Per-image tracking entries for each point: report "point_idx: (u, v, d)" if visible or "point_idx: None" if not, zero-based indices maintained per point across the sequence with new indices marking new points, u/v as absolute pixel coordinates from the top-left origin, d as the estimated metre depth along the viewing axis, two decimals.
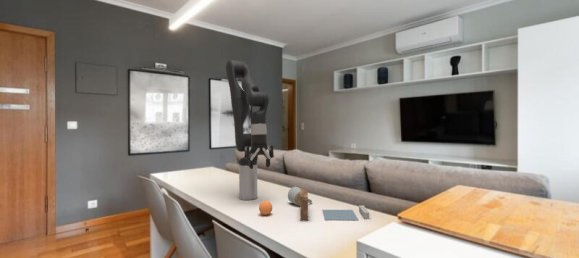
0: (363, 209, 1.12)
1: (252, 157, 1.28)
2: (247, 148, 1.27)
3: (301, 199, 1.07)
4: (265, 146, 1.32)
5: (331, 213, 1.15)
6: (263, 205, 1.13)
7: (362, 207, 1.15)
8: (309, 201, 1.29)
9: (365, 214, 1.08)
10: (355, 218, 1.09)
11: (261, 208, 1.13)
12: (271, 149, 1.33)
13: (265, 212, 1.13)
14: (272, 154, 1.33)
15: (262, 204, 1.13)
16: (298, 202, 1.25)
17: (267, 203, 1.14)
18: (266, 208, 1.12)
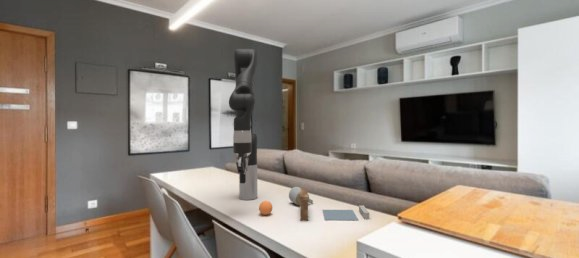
0: (363, 209, 1.12)
1: None
2: None
3: (301, 199, 1.07)
4: None
5: (331, 213, 1.15)
6: (263, 205, 1.13)
7: (362, 207, 1.15)
8: (310, 201, 1.29)
9: (365, 214, 1.08)
10: (355, 218, 1.09)
11: (261, 208, 1.13)
12: (237, 165, 1.11)
13: (265, 212, 1.13)
14: None
15: (262, 204, 1.13)
16: (299, 202, 1.26)
17: (267, 203, 1.14)
18: (266, 208, 1.12)
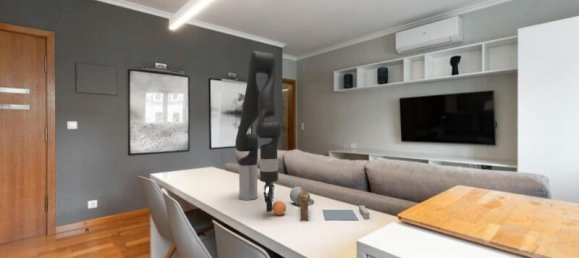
0: (363, 209, 1.12)
1: None
2: None
3: (301, 199, 1.07)
4: (265, 185, 1.11)
5: (331, 213, 1.15)
6: (282, 207, 1.13)
7: (362, 207, 1.15)
8: (311, 201, 1.29)
9: (365, 214, 1.08)
10: (355, 218, 1.09)
11: (279, 205, 1.13)
12: None
13: (275, 210, 1.12)
14: None
15: (283, 206, 1.13)
16: None
17: (284, 210, 1.13)
18: (280, 211, 1.12)
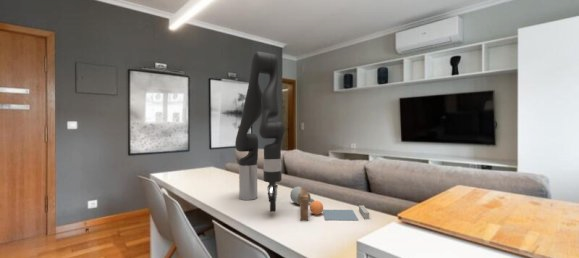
0: (363, 209, 1.12)
1: None
2: None
3: (301, 199, 1.07)
4: (269, 185, 1.12)
5: (331, 213, 1.15)
6: (318, 205, 1.13)
7: (362, 207, 1.15)
8: (312, 201, 1.29)
9: (365, 214, 1.08)
10: (355, 218, 1.09)
11: (315, 206, 1.12)
12: None
13: (315, 211, 1.12)
14: (269, 199, 1.12)
15: (318, 203, 1.13)
16: None
17: (321, 205, 1.13)
18: (318, 209, 1.12)
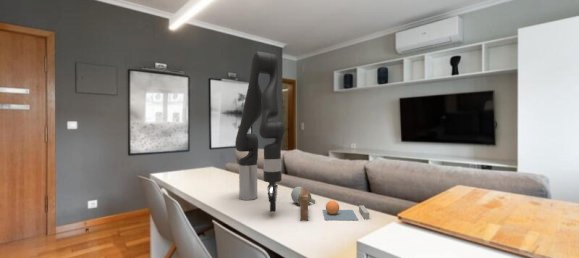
0: (363, 209, 1.12)
1: None
2: None
3: (301, 199, 1.07)
4: (269, 185, 1.12)
5: None
6: (334, 212, 1.13)
7: (362, 207, 1.15)
8: (312, 201, 1.30)
9: (365, 214, 1.08)
10: (355, 218, 1.09)
11: (336, 209, 1.12)
12: None
13: (333, 206, 1.12)
14: (269, 199, 1.12)
15: (335, 213, 1.13)
16: None
17: None
18: (331, 210, 1.12)
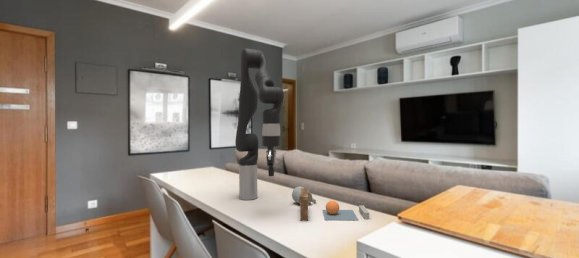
0: (363, 209, 1.12)
1: None
2: None
3: (301, 199, 1.07)
4: (267, 150, 1.12)
5: None
6: (334, 212, 1.13)
7: (362, 207, 1.15)
8: (313, 201, 1.30)
9: (365, 214, 1.08)
10: (355, 218, 1.09)
11: (336, 209, 1.12)
12: (267, 158, 1.11)
13: (333, 206, 1.12)
14: (267, 163, 1.12)
15: (335, 213, 1.13)
16: None
17: None
18: (331, 210, 1.12)
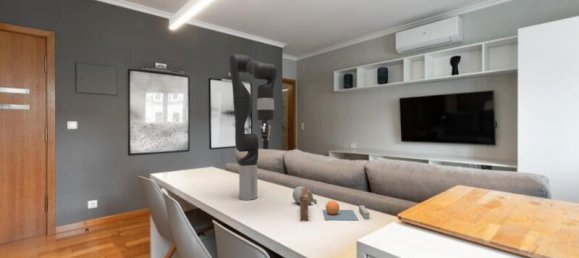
0: (363, 209, 1.12)
1: (263, 136, 1.22)
2: None
3: (301, 199, 1.07)
4: (262, 123, 1.18)
5: None
6: (334, 212, 1.13)
7: (362, 207, 1.15)
8: (314, 200, 1.30)
9: (365, 214, 1.08)
10: (355, 218, 1.09)
11: (336, 209, 1.12)
12: None
13: (333, 206, 1.12)
14: (262, 135, 1.18)
15: (335, 213, 1.13)
16: None
17: None
18: (331, 210, 1.12)
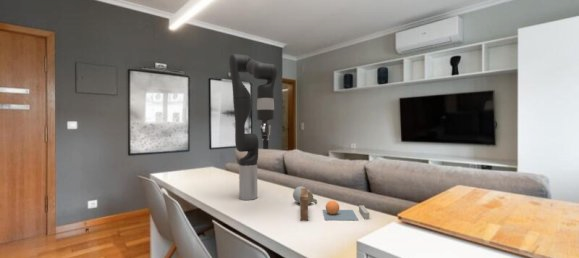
0: (363, 209, 1.12)
1: (263, 136, 1.22)
2: None
3: (301, 199, 1.07)
4: (262, 123, 1.18)
5: None
6: (334, 212, 1.13)
7: (362, 207, 1.15)
8: (314, 200, 1.30)
9: (365, 214, 1.08)
10: (355, 218, 1.09)
11: (336, 209, 1.12)
12: None
13: (333, 206, 1.12)
14: (262, 135, 1.18)
15: (335, 213, 1.13)
16: None
17: None
18: (331, 210, 1.12)
